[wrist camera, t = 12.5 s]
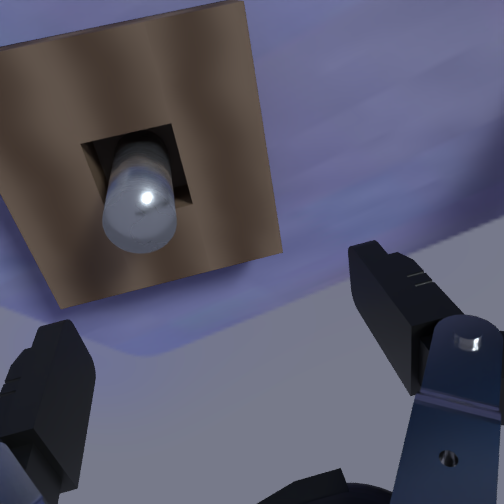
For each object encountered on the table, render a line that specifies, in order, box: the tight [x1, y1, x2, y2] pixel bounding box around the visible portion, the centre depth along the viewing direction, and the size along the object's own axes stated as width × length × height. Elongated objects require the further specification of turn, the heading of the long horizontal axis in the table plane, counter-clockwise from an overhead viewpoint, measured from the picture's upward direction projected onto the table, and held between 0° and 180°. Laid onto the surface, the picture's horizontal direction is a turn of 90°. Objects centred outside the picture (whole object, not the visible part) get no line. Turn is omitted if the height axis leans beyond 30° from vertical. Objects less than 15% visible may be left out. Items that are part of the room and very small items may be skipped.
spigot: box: [102, 130, 177, 254], centre depth 29 cm, size 4×4×11 cm
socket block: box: [0, 0, 283, 309], centre depth 32 cm, size 18×18×5 cm
